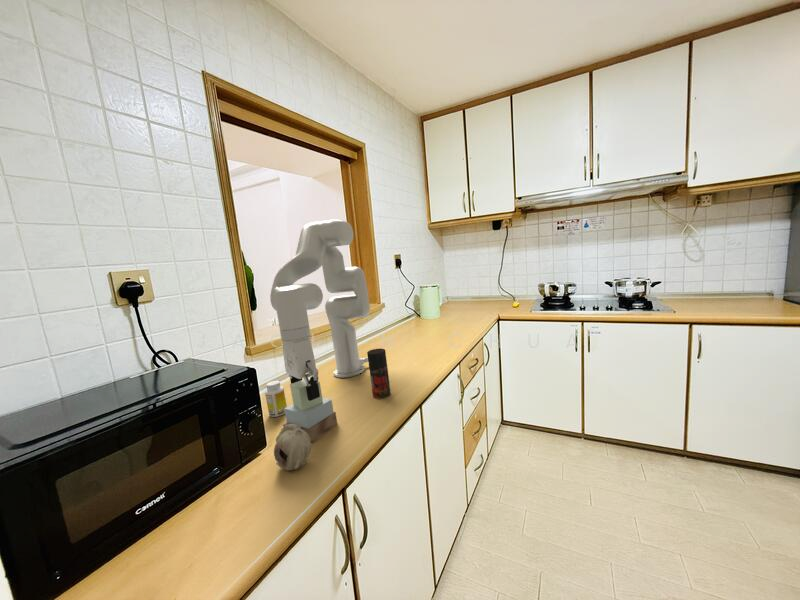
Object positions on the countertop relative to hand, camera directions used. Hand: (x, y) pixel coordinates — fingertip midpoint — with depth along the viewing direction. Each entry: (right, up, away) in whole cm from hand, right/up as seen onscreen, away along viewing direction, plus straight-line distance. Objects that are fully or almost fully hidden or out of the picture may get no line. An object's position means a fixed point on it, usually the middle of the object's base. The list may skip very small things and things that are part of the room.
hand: (305, 394), depth 89 cm
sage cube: (0, -3, +1) cm, 3 cm away
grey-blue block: (+1, -7, +1) cm, 7 cm away
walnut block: (+1, -11, +1) cm, 11 cm away
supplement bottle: (-13, -10, +14) cm, 22 cm away
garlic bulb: (+2, -13, -14) cm, 19 cm away
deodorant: (+20, -6, +19) cm, 28 cm away
